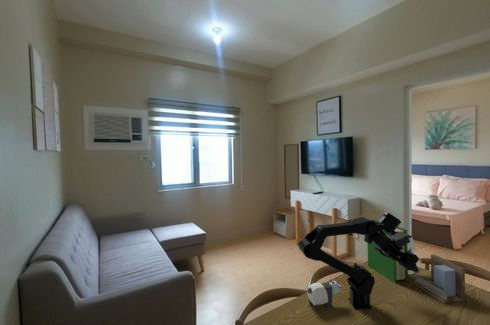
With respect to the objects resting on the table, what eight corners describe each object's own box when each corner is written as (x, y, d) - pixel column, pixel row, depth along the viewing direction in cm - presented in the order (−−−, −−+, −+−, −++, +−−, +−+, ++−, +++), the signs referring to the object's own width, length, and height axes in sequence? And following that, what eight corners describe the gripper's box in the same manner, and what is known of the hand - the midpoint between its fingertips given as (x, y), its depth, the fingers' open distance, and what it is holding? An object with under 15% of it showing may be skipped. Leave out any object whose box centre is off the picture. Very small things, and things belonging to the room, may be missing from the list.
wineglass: (407, 276, 117) (406, 239, 117) (392, 269, 125) (391, 234, 125) (420, 273, 120) (419, 237, 119) (405, 266, 127) (404, 232, 127)
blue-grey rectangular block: (444, 296, 99) (444, 271, 98) (433, 290, 104) (433, 265, 103) (455, 295, 99) (455, 270, 99) (444, 289, 104) (444, 264, 104)
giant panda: (312, 311, 94) (311, 287, 94) (305, 303, 100) (304, 280, 99) (346, 305, 97) (345, 282, 97) (338, 298, 103) (337, 275, 102)
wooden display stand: (442, 302, 97) (442, 270, 96) (414, 284, 110) (414, 256, 110) (465, 300, 97) (464, 268, 97) (434, 282, 111) (434, 254, 111)
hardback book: (408, 280, 114) (407, 229, 113) (394, 282, 112) (393, 231, 112) (380, 264, 131) (378, 220, 130) (368, 266, 130) (366, 221, 129)
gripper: (413, 233, 89) (442, 261, 91) (380, 220, 108) (404, 243, 109) (394, 256, 89) (422, 283, 90) (364, 239, 107) (388, 262, 109)
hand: (408, 266), depth 100 cm, fingers open, 9 cm apart
